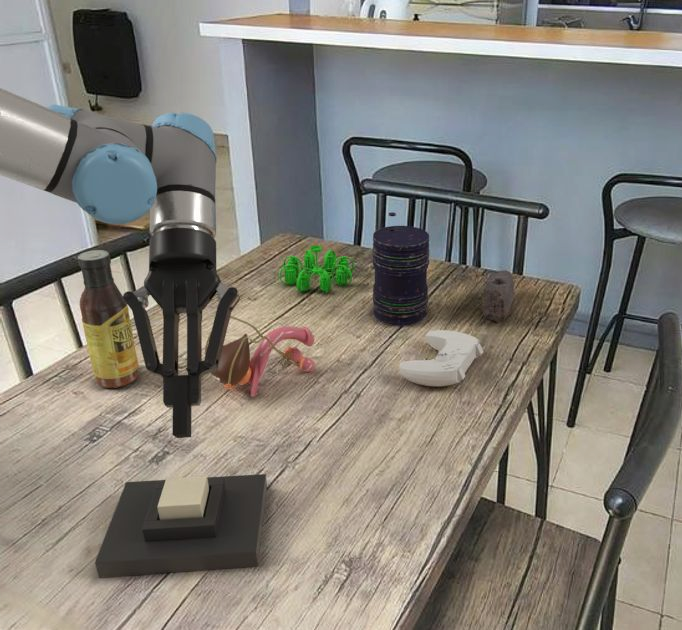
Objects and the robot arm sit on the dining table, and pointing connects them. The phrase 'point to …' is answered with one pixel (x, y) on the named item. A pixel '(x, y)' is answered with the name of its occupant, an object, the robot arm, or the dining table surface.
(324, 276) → the chandelier
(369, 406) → the dining table surface
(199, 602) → the dining table surface
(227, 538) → the stepped tiered pedestal
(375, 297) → the storage jar
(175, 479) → the key
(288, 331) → the anatomy model
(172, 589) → the dining table surface
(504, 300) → the perforated stone tool
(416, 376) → the game controller
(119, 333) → the sauce bottle
